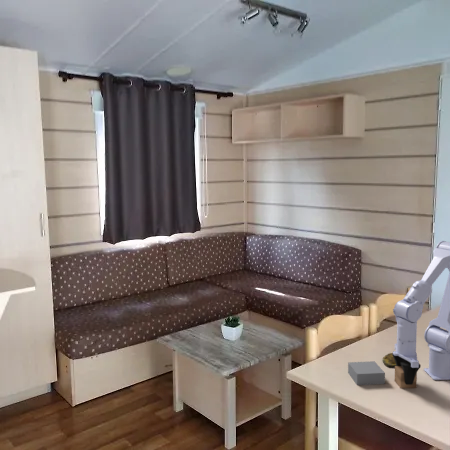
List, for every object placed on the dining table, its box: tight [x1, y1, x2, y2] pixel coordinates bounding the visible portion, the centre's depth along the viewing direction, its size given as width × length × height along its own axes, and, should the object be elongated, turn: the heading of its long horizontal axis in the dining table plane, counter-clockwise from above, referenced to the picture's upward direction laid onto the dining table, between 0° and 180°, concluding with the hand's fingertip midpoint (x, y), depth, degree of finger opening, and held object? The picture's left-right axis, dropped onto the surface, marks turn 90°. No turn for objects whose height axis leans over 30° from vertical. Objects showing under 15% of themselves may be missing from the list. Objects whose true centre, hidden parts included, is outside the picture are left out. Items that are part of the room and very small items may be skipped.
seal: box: [382, 352, 396, 368], centre depth 168 cm, size 9×5×15 cm
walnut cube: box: [394, 366, 418, 389], centre depth 150 cm, size 5×5×5 cm
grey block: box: [347, 361, 386, 386], centre depth 155 cm, size 9×9×4 cm
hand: (405, 380), depth 150 cm, fingers closed on walnut cube, 5 cm apart
